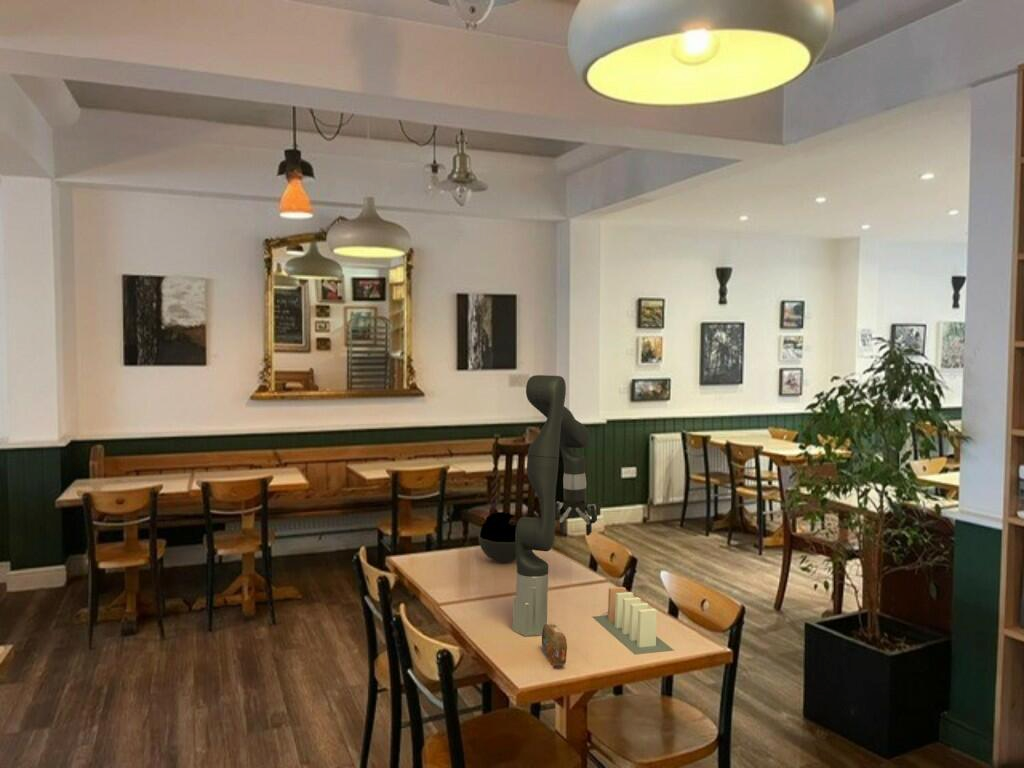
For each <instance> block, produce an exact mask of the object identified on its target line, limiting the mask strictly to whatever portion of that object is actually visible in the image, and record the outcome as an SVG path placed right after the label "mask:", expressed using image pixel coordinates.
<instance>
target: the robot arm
mask: <svg viewBox="0 0 1024 768" xmlns="http://www.w3.org/2000/svg"><path fill="white" fill-rule="evenodd" d="M566 389H567V386H566V381H565V378H564V376H560V375H549V374H548V375H547V374H546V375H545V374H536V375H531V376H530V377H529V378H528V380H527V382H526V385H525V394H526V395H525V396H526V398H527V401H528V402H529V403H530V404H531V405H532V406H533V407H534V408H535V409H536V410H538V411H539V412H540V413H541V414H542V415H543V416H544V417H546V421H545V423H544V425H543V426H542V428H541V429H540V431H539V433H538V434H537V435H536V436H535V438H534V439H533V440H532V442H531V444H530V445H529V447H528V450H527V460H526V475H527V478H528V480H529V482H530V484H531V486H532V488H533V490H534V492H535V494H536V496H537V499H538V502H539V506H540V518H538V517H531V516H530V517H529V516H522V517H520V518H519V519H518V521H517V523H516V525H517V526H516V533H515V542H516V560H515V565H516V585H515V586H516V587H515V588H516V590H515V592H516V593H515V597H514V598H513V601H512V631H514V632H515V633H517V634H519V635H521V636H524V637H527V636H533V637H534V636H540V635H541V636H542V631H543V627H544V625H545V624H548V598H549V597H548V594H549V591H548V590H549V564H548V562H547V561H546V560H545V559H543V558H540V557H539V556H538V555H537V554H535V552H533V551H538V552H549V551H551V550H552V548H553V547H554V543H555V536H556V521H558V522H559V530H560V531H559V532H561V534H565V533H566V529H567V528H566V519H567V518H568V517H576V518H577V517H578V518H581V519H582V520H583V521H584V522H585V533H586V534H585V535H586V536H590V535H591V534H592V532H593V531H592V530H593V527H592V525H593V524H595V523H596V522H597V521H598V513H597V511H598V510H597V504H596V503H593V504H588V502H587V477H586V460H585V457H584V455H582V454H579V453H576V452H574V451H573V450H572V448H573V449H575V448H576V449H583V448H585V447H587V446H588V445H589V443H590V440H591V433H590V431H589V429H588V427H586V425H584V424H583V423H581V421H579V420H577V419H576V418H575V416H574V415H573V414H574V413H572V411H570V409H569V408H567V407H566V406H565V402H566V401H565V400H566V396H567V395H566V394H567V393H566V392H567V390H566ZM560 452H561V456H562V460H563V479H562V482H563V502H560V500H559V501H558V500H557V501H556V495H557V494H556V492H557V481H558V472H559V460H560ZM562 508H563V509H564V510H565V512H563V514H562V516H561V509H562ZM587 509H588V511H590V515H589V514H588V512H587Z"/></svg>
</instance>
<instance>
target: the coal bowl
mask: <svg viewBox="0 0 1024 768" xmlns="http://www.w3.org/2000/svg"><path fill="white" fill-rule="evenodd" d="M514 517H515V515H514V514H511V513H510V512H506V513H505V512H504V511H497V512H493V513H491V514H490V515H488V516H487V517H486V519H485V522H484V523H482V527H481V528H480V534H478V537H477V538H478V542H479V543H478V544H479V547H480V548H481V550H482V552H483V553H484V554H485V556H486V557H488V558H489V559H491V560H492V561H495V562H497V563H503V564H504V563H512V562H514V561H516V542H515V533H516V526H517V524H516V525H515V524H514V525H513V524H511V523H509V522H510V520H511V519H513V518H514Z"/></svg>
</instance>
